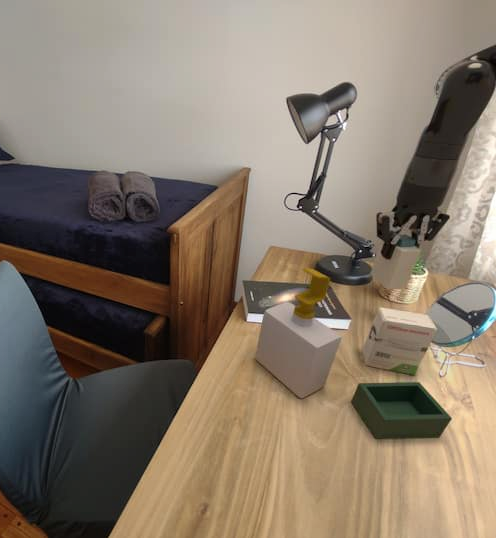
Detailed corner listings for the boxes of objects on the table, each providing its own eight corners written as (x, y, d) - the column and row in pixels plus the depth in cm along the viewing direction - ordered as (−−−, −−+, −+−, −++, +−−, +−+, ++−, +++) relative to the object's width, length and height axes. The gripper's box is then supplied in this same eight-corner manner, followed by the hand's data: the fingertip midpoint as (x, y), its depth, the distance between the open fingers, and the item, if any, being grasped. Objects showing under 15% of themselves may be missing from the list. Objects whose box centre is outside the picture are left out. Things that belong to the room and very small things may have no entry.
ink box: (407, 359, 73) (430, 313, 68) (415, 376, 69) (440, 329, 63) (360, 350, 76) (378, 305, 70) (364, 366, 72) (384, 319, 66)
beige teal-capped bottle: (387, 274, 84) (403, 230, 78) (405, 289, 78) (424, 243, 72) (369, 274, 84) (385, 231, 78) (387, 289, 78) (404, 244, 72)
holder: (409, 400, 65) (419, 381, 62) (439, 437, 58) (452, 418, 56) (350, 401, 65) (358, 383, 62) (375, 438, 58) (385, 419, 56)
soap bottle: (253, 358, 74) (273, 259, 63) (276, 348, 77) (299, 251, 65) (300, 401, 65) (334, 294, 53) (325, 387, 67) (363, 282, 56)
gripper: (402, 186, 66) (374, 266, 74) (480, 184, 66) (442, 265, 74) (378, 175, 72) (354, 250, 81) (448, 173, 72) (417, 249, 81)
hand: (396, 257), depth 78 cm, fingers closed on beige teal-capped bottle, 4 cm apart
